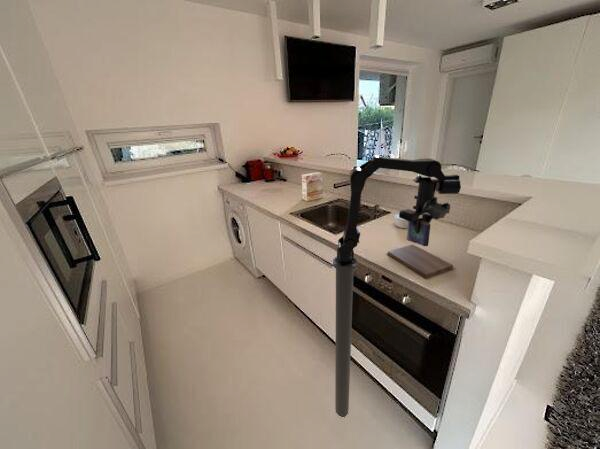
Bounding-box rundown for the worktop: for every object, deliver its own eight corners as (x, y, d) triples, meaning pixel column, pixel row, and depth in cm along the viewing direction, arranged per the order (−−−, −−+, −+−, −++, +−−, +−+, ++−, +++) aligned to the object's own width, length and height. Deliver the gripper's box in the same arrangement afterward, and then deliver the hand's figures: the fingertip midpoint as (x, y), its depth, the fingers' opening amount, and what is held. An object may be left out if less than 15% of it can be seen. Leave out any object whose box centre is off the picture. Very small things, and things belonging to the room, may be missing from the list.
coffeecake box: (307, 201, 186) (306, 175, 179) (302, 199, 192) (301, 174, 185) (323, 197, 193) (322, 173, 186) (318, 195, 199) (317, 171, 192)
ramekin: (409, 221, 140) (410, 212, 138) (419, 228, 130) (420, 219, 128) (390, 222, 140) (391, 213, 138) (398, 229, 130) (399, 220, 128)
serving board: (425, 278, 89) (426, 274, 89) (387, 254, 107) (387, 251, 106) (452, 268, 94) (453, 265, 94) (412, 247, 111) (412, 244, 111)
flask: (405, 239, 102) (407, 215, 98) (409, 237, 103) (412, 213, 99) (425, 247, 94) (429, 221, 91) (430, 245, 96) (433, 219, 92)
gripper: (425, 203, 81) (418, 245, 86) (464, 195, 87) (455, 235, 93) (400, 195, 90) (395, 234, 96) (436, 188, 96) (430, 225, 102)
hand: (420, 232), depth 97 cm, fingers closed on flask, 3 cm apart
